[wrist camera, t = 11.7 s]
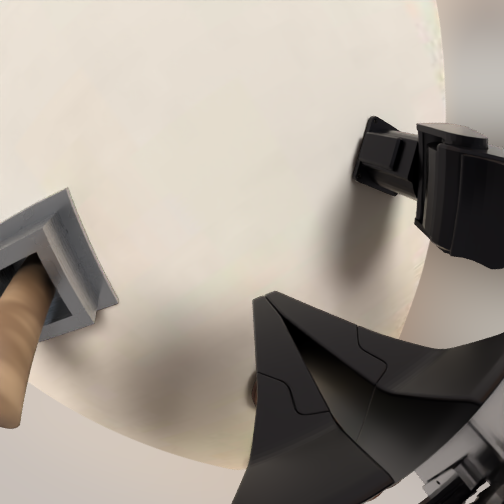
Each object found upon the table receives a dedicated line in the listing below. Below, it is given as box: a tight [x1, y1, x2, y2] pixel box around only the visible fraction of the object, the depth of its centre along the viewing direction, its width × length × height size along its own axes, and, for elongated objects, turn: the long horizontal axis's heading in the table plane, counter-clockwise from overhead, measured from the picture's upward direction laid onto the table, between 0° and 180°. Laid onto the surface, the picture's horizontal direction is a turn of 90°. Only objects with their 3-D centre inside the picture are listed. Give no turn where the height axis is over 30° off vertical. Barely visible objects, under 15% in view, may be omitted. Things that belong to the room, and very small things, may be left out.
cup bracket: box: [0, 187, 118, 342], centre depth 16 cm, size 10×10×4 cm
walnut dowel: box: [0, 252, 56, 429], centre depth 12 cm, size 4×4×13 cm
